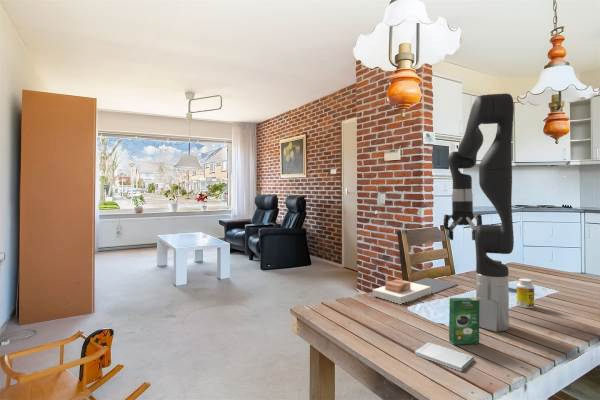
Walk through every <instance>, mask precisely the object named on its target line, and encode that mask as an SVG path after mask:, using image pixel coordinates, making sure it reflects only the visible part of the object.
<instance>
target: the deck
mask: <svg viewBox="0 0 600 400" xmlns="http://www.w3.org/2000/svg"><path fill="white" fill-rule="evenodd" d="M405 281H406V282H410V290H407V291H404V292H401V293H396V292H393V291H389V290H385V285H383V286H380V287H378V288H377V287H376V288H373V289H372V296H373V295H375V296H378V297H380V298H383V299H386V300H389V301H388V302H390V301H392V302H391V303H393V302H395V303H394V304H396V303H398V304H397V305H400V304H401V305H403V304H402V303H404V304H406V303H405V302H407V303H409V302H412V301H415V300H417V298H418V299H420V298H422V296H423V297H425V295H426V296H428V294H429V295H432V294H431V287H430V286H425V285H421V284H416V283H412V282H413V281H412V282H411V281H407V280H405ZM383 299H382V300H383ZM386 300H385V301H386ZM408 301H409V302H408Z"/></svg>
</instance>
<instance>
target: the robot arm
mask: <svg viewBox="0 0 600 400" xmlns="http://www.w3.org/2000/svg"><path fill="white" fill-rule="evenodd" d="M514 102H515V101H514V98H513V96H512V95H511V94H510V93H507V92H505V93H492V94H489V93H488V94H482V95H478V96H477V97H476V98H475V100H474V101H473V102H472V105H471V109H470V113H469V115H468V119H467V122H466V123H467V124H466V128H465V131H464V134H463V137H462V139H461V141H460V143H459V145H458V148H457V151H456V150H455V151H452V152H450V153H449V155H448V156H447V165H448V168H449V170H450V175H451V178H452V194H451V209H452V213H451V214H443V229H444V230H447V232H448V234H447V235H448V239H449V240H450V241H453V240H454V229H455V228H456V227H457V226H469V228H471V239H472V241H474V244H475V261H476V262H475V268H476V269H475V278H476V279H475V280H476V281H475V290H476V291H475V294H476V296H475V298H476V299H478V300H479V301H480V305H479V306H480V307H479V328H481V329H484V330H488V331H492V332H495V333H497V332H504V331H508V330H509V329H510V313H509V312H510V304H509V303H510V302H509V301H510V300H509V298H510V297H509V296H510V295H509V292H510V291H509V290H510V288H509V285H510V284H509V277H510V276H509V271H510V270H509V267H508V265H506V264H504V263H502V264H501V263H499V262H496V261H494V260H495V259H493V258H491V257H490V256H488V254H497V255H498V254H499V255H508V254H511V253H512V252H513V250H514V246H515V244H514V242H515V241H514V239H515V238H514V226H513V225H514V223H513V210H512V206H513V205H512V199H513V197H512V194H513V190H512V189H513V161H512V157H513V156H512V139H513V124H514V114H515V113H514V112H515V111H514V110H515V107H514V106H515V105H514V104H515V103H514ZM492 124H497V125H496V134H495V137H494V140H493V142H492V143H491V145H490V147H489V148H488V149H487V151H486V152H485V154H484V156H483V157H482V159H481V160H480V163H479V165H478V182H479V183H478V184H479V187H480V189H481V191H482V192H483V193H484V195H485V196H486V197H487V199H488V200H489V202H490V203H491V204H492V206H493V208H494V209H495V211H496V213H498V216H499V219H500V221H501V224H483V218H482V216H483V215H482V214H479V213H478V214H474V213H473V212H474V211H473V210H474V207H473V205H474V204H473V201H474V198H473V187H472V186H473V181H472V180H473V179H472V175H470V174H465V173H462V172H461V171H460V169H461V170H463V169H471V168H474V167H475V166H476V164H477V155H478V152H479V151H480V149H481V147H482V146H483V145H484V144H483V143H484V134H483V133H482V131H481V128H480V125H492ZM451 219H452V222H451V223H450V225H449V221H450V220H451ZM473 220H476V225H475V224H474V222H473Z"/></svg>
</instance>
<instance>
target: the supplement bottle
mask: <svg viewBox="0 0 600 400" xmlns="http://www.w3.org/2000/svg"><path fill="white" fill-rule="evenodd" d="M532 281H533V280H532V279H530V278H519V279H518V283H516V305H517V306H518V307H521V308H522V309H523V308H524V309H533V308H534V307H535V285H533V284H532V283H533V282H532Z"/></svg>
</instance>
